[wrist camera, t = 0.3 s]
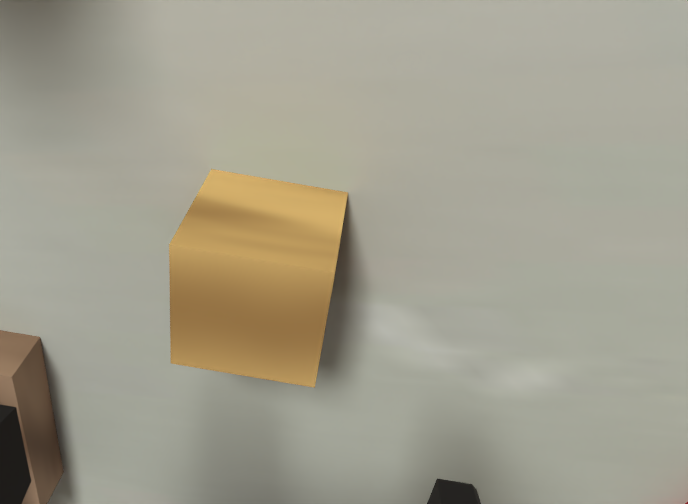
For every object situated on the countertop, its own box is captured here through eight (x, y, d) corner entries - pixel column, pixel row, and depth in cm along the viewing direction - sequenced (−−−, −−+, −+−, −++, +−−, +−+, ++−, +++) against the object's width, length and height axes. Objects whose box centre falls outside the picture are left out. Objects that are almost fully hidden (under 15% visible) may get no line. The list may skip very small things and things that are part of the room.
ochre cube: (329, 296, 21) (314, 387, 17) (208, 276, 21) (170, 363, 17) (348, 191, 18) (334, 272, 15) (212, 167, 18) (169, 244, 15)
